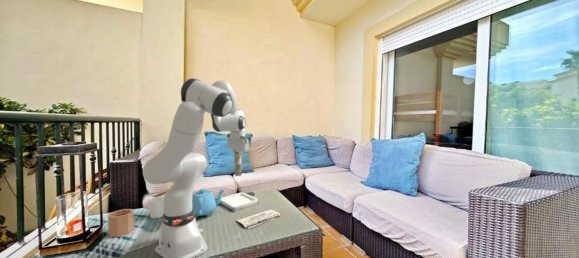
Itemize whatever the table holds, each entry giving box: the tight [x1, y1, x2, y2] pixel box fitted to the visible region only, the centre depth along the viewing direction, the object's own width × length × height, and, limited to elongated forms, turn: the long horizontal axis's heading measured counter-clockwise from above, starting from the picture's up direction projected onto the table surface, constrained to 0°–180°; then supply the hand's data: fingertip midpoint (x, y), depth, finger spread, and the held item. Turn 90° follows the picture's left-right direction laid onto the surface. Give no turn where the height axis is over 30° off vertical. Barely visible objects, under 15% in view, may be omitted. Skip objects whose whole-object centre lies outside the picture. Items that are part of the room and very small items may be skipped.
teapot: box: [192, 188, 226, 219], centre depth 128 cm, size 16×20×14 cm
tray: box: [219, 191, 260, 212], centre depth 144 cm, size 20×18×2 cm
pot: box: [107, 208, 135, 238], centre depth 106 cm, size 9×9×10 cm
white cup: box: [148, 196, 164, 219], centre depth 123 cm, size 8×8×10 cm
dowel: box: [234, 150, 242, 177], centre depth 143 cm, size 4×4×15 cm
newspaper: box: [235, 209, 281, 230], centre depth 122 cm, size 23×12×2 cm, turn 129°
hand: (238, 157), depth 143 cm, fingers closed on dowel, 4 cm apart
